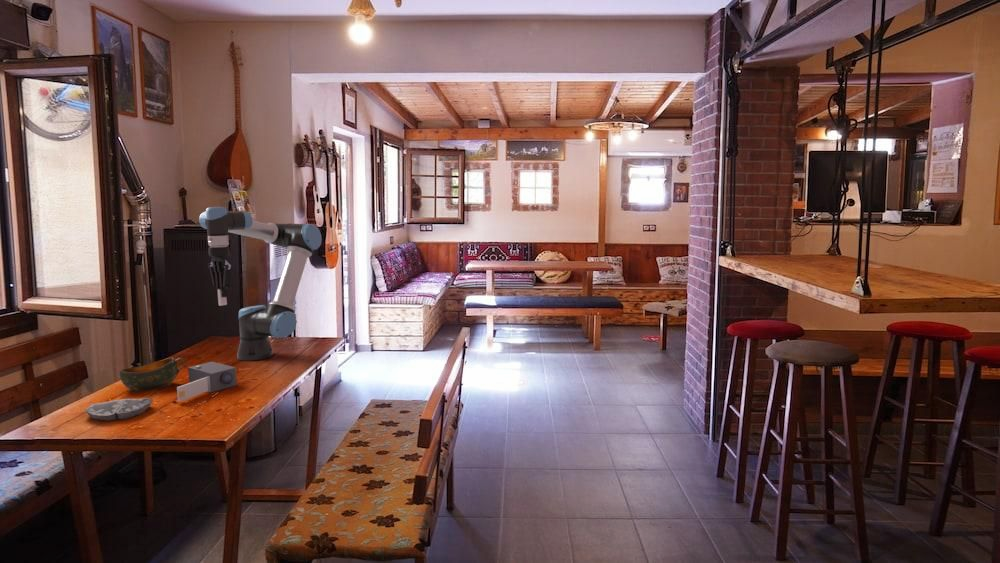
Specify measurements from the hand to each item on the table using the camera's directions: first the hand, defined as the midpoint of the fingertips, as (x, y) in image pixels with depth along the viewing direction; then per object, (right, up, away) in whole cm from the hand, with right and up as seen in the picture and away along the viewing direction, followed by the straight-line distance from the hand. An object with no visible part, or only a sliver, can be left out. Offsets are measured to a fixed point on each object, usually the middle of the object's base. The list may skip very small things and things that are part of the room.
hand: (222, 305), depth 251 cm
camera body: (-1, -31, -7) cm, 32 cm away
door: (0, -33, -23) cm, 40 cm away
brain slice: (-18, -36, -39) cm, 56 cm away
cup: (-22, -31, -9) cm, 40 cm away
